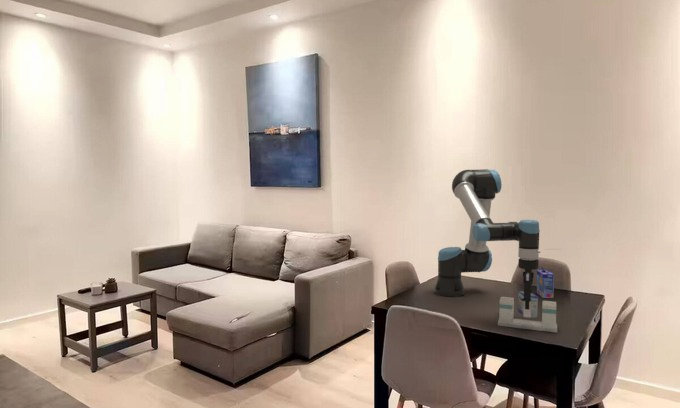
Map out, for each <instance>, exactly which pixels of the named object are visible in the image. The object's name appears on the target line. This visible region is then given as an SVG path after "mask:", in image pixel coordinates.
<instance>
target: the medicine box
mask: <svg viewBox="0 0 680 408" xmlns="http://www.w3.org/2000/svg"><path fill="white" fill-rule="evenodd" d="M517 297H518V299H517V300H518V301H517V302H518V303H517V312H518V313H519V314H520V315H522V316H523V306H524V301H522V299H523V298H524V290H522V291H518V296H517ZM526 298H529V297H526ZM538 298H539V297H538V296H537V295H536V294H532V293H531V318H537V317H538V306H539V305H538V303H539V299H538Z"/></svg>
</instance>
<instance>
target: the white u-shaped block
mask: <svg viewBox="0 0 680 408" xmlns="http://www.w3.org/2000/svg"><path fill="white" fill-rule="evenodd" d="M514 300H515V298H514V297H510V296H501V297H500V299H499V306H498V307H499V309H498V310H499V311H498V312H499V313H498V314H499V315H498V316H499V318H498V321H497V326H498V327H507V328H515V329H522V330H529V331H530V330H534V331H541V332H547V333H554V334H555V333H557V334H558V323H557V301H552V300H542V304H541V305H542V307H541V311H542V312H541V314H542V315H541V321H538V320H530V319H521V318H514V313H515V311H514V309H515V308H514V307H515V306H514V305H515V301H514Z"/></svg>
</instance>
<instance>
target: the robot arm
mask: <svg viewBox="0 0 680 408" xmlns="http://www.w3.org/2000/svg"><path fill="white" fill-rule="evenodd" d="M500 175H501V174H499V172H498V171H497V170H495V169H488V168H485V169H484V168H483V169H465V170H461V171H460V172H458V173H457V174H455V176H454V178H453V179H452V184H451V189H452V193H453V194H454V197H455V198H457V199H459V201H460V203H461V205H462V207H463V208H464V210H465V212H466V214H467V216H468V217H469V219H470V227H469V238H468V242H467V243H466V244H465V246H464V249H462V247H461V246H449V247H444V248H443V247H442V248H441V249H440V250H439V251H438V252H437V253H438V255H437V257H438V258H437V267H438V268H437V274H438V275H437V280H436V283H435V285H434V286H435V287H434V294H436V295H439V296H443V297H461V296H463V295H465V293H466V292H465V287H464V286H465V285H464V282H463V280H462V273H481V272H487V271H488V270H489V269H490V268H491V266H492V264H493V263H492V262H493V257H492V255H493V253H492V252H491V250H490V249H489V247H488V245H487V242H500V241H501V242H502V241H503V242H504V241H507V242H508V241H515V242H518V254H517V255H518V268H519V269H522V270H524V271H523V272H522V279H523V281H522V284H523V291H524V298H523V299H522V301H524V306H523V315H522V316H523V318H531V319H532V317H531V293H532V294H534V292H533V287H532V286H533V283H534V282H533V281H534V277H535V276H534V275H535V273H534V271H533V270H539V267H540V266H539V265H540V263H539V254H541V250H539V249H540V231H541V230H540V223H539V221H538V220H537V219H536V220H535V219H521V220H520V221H519V222H517V221H508V222H493V220H492V219H491V217H490V215H491V207H492V201H493V200H494V199H495V198H496V194H499V193H501V190H502V186H503V185H502V178H501V176H500ZM534 295H535V294H534ZM526 297H529V298H526Z"/></svg>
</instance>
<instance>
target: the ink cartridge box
mask: <svg viewBox="0 0 680 408" xmlns="http://www.w3.org/2000/svg"><path fill="white" fill-rule="evenodd" d="M540 268H541V269H536V294H538V295H539V296H540V297H541V298H542V299H554V296H555V294H554V293H555V292H554V291H555V290H554V285H555V284H554V282H555V281H554V279H555V278H554V273H553V272H551V271H549V270H548V269H545V268H544V267H543V266H540Z"/></svg>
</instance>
